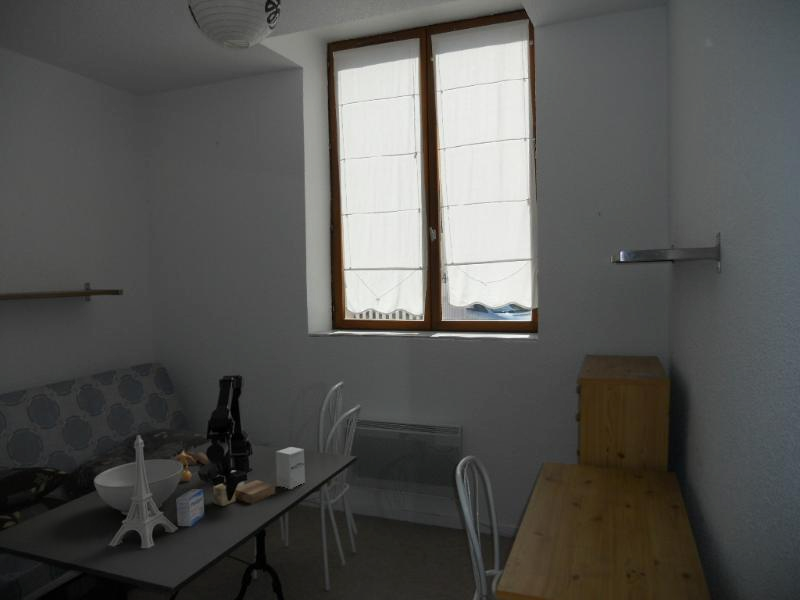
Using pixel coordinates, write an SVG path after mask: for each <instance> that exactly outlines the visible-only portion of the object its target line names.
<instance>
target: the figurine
mask: <svg viewBox="0 0 800 600" xmlns="http://www.w3.org/2000/svg"><path fill="white" fill-rule="evenodd" d="M186 457H188V458H191V459H192V460H193V461H195V460H194V459H193V458H192V457H191V456H188V455H186V454H185V451H184V450H183V451H181V453H180V454H177V456H175V457H174V458H173V460H174V461H176V459H179V458H180V459H181V461H180V463H182V464H184V463H185V465H184V466H185V470H184V469H183V472H182V476H181V479H180V481H182V482H184V483H185V482H188V481H190V480H191V478H192V473H191V471H189V470H188V467H189V465H188V463H187V461H185V459H186ZM195 463H196V464H197V461H196V462H195Z"/></svg>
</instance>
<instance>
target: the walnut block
mask: <svg viewBox="0 0 800 600" xmlns="http://www.w3.org/2000/svg"><path fill="white" fill-rule="evenodd" d="M273 494H275V495H276V485H275V484H271V483H268V482H265V481H261V480H258V479H255V480H253V481H250V482H247V483H244V485H242V486H239V487H237V488H236V490H235V497H236V500H238V501H241V502H245V503H248V504H251V505H252V504H255V503H257V502H258V503H259V502H260V501H263V500H264V498H265V499H267V498H269V496H270V497H272V496H274V495H273ZM271 495H272V496H271ZM266 497H267V498H266ZM259 500H260V501H259Z"/></svg>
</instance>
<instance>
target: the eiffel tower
mask: <svg viewBox="0 0 800 600" xmlns="http://www.w3.org/2000/svg"><path fill="white" fill-rule="evenodd" d="M144 447H145V444H144V440H143V439H142V437H141V435H139V434H138V435H136V439H135V441H134V446H133V448H134V449H135V462H136V475H135V488H134V496H133V497H132V498H131V500H133V502H132V505H131V508H130V510H129V513H128V515H126V517H125V519H123V520H122V521H121V523H122V525H121V527H120V528H119V529H118V531H117V532H116V533H115V535H114V537H113V538H112V540H111V541H110V542H109V544H108V545H113V546H112V547H115V545H118V544H119V545H121V544H122V543H123V542H124V541H123V538H124V536H125V535H126V533H127V532H129V531H133V530H134V531H136V532H137V533H138V534H139V535H140V538H141V547H140V548H149V547H151V546H153V545H154V544H155V543H154V540H153V529H154V527H155V526H156V525H158V524H159V525H161V526H162V527H163V528H164V532H165V533H174V532H176V531H178V530H179V527H177V525H174V523H172V521H170V520H169V519H168V518H167V517H166V516H165V515H164V511H160V510H159V509H158V508H157V507H156V505H155V503H154V501H153V499H152V497H151V496H152V493H150V491H149V487H148V482H147V477H146V471H145V465H144V461H145V457H144ZM147 506H148V508H149V510H150V511H148V509H147ZM136 512H137V513H136ZM121 542H122V543H121ZM120 543H121V544H120ZM119 545H118V546H119ZM154 546H155V545H154ZM154 546H153V547H154ZM151 548H152V547H151Z"/></svg>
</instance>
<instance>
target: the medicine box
mask: <svg viewBox="0 0 800 600" xmlns="http://www.w3.org/2000/svg"><path fill="white" fill-rule="evenodd" d="M175 499H176V500H175V501H176V516H177V518H176V519H177V526H179V527H192V526H194V525H195V524H196V523H197V522H198V521H200V520H201V519H203V518H204V517H205V505H204V504H205V503H204V502H205V501H204V490H203V489H199V488H195V489H193V488H192V489H190V490H188V491H186V492H185V493H183V494H181V495H180V496H179V497H177V498H175Z"/></svg>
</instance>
